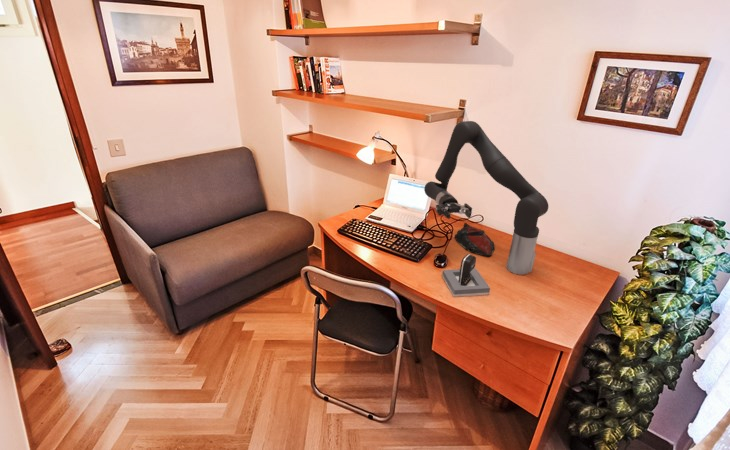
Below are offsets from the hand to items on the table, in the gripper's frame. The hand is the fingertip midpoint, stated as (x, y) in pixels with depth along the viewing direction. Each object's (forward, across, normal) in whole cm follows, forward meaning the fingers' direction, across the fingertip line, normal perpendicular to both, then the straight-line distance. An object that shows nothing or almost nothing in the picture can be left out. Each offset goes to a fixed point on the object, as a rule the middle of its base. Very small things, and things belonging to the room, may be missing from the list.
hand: (459, 216), depth 147 cm
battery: (+13, 0, +23) cm, 27 cm away
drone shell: (-19, +17, +24) cm, 35 cm away
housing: (+14, 0, +24) cm, 28 cm away
